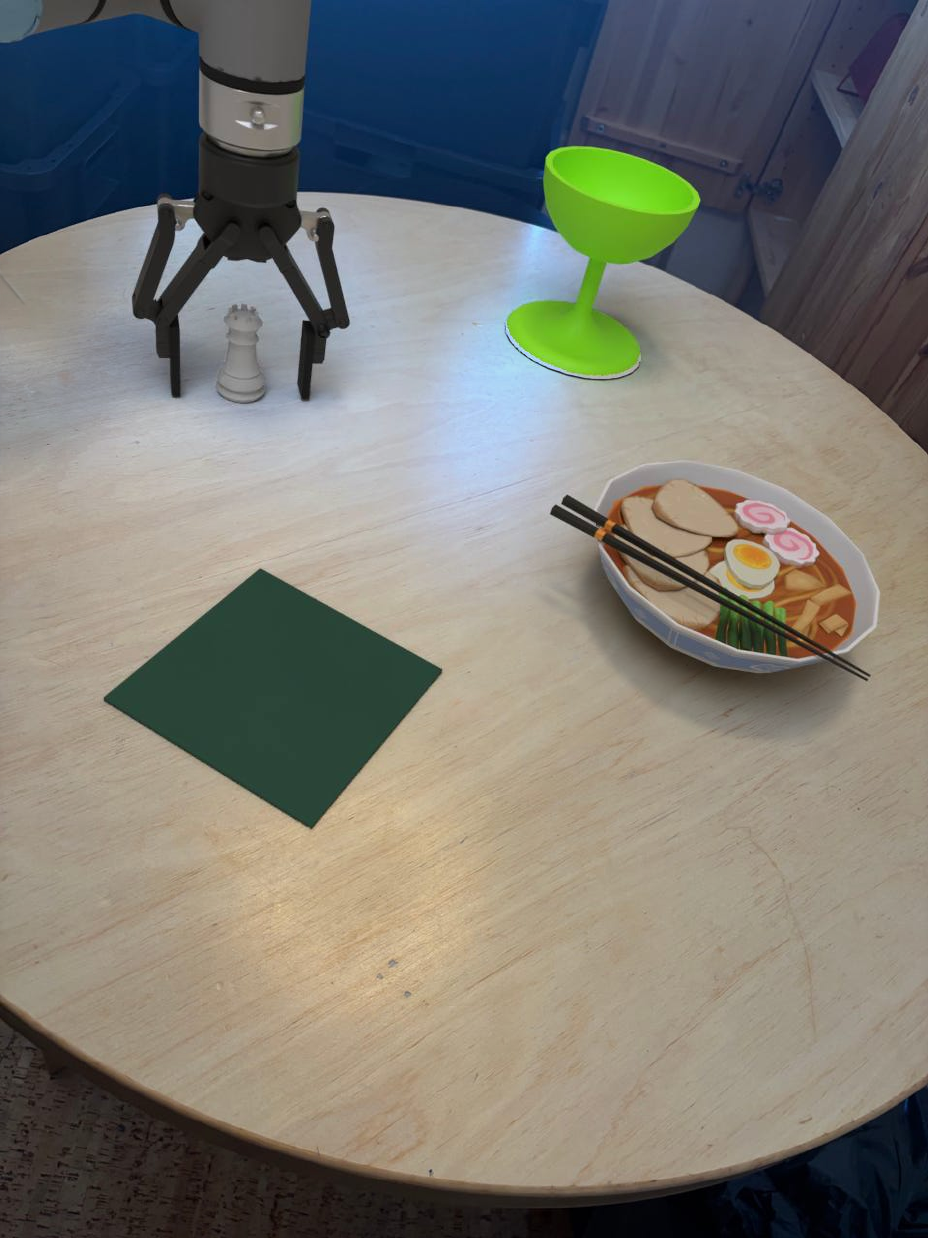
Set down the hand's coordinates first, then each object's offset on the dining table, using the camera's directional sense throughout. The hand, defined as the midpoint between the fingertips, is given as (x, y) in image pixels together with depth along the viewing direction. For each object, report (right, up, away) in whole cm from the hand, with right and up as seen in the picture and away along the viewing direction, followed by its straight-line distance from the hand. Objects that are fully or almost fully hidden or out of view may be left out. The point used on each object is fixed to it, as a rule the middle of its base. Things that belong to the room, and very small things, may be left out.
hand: (240, 389), depth 87 cm
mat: (+8, -25, -23) cm, 35 cm away
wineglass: (+33, +10, +20) cm, 40 cm away
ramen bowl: (+40, -21, -9) cm, 46 cm away
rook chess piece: (0, 0, 0) cm, 0 cm away
